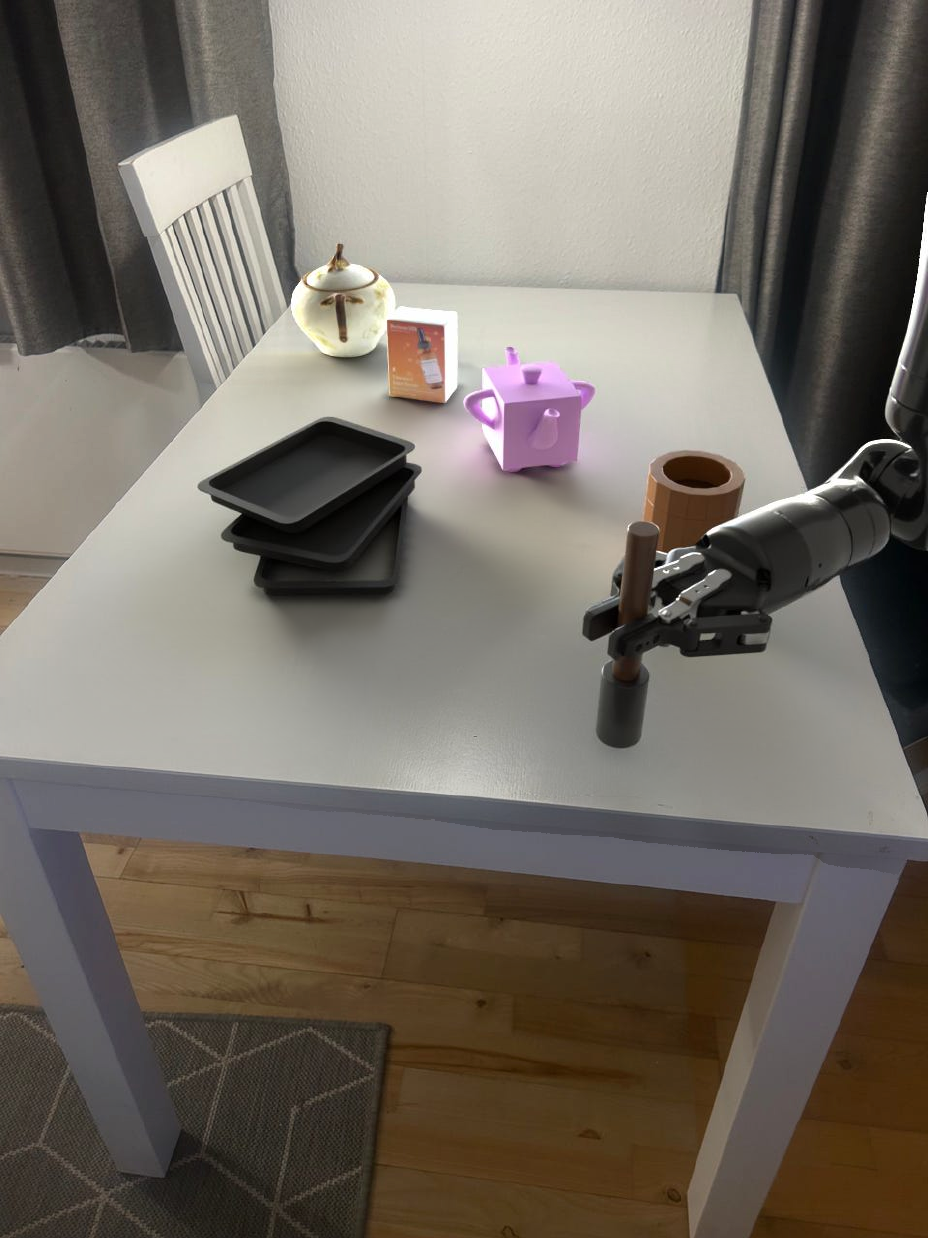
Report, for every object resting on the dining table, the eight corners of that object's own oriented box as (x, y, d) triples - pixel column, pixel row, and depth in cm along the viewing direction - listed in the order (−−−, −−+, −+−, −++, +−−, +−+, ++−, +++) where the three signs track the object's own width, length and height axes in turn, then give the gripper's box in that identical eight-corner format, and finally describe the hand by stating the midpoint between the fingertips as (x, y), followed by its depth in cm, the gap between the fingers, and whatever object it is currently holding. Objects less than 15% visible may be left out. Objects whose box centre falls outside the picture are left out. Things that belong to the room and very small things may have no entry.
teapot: (442, 459, 108) (440, 370, 101) (506, 419, 116) (509, 335, 110) (551, 498, 100) (557, 405, 94) (611, 452, 109) (621, 364, 102)
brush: (630, 713, 71) (657, 511, 60) (648, 744, 68) (679, 538, 57) (589, 721, 70) (608, 518, 59) (605, 752, 67) (629, 546, 56)
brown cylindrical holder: (700, 543, 93) (717, 445, 86) (740, 590, 86) (762, 487, 80) (623, 555, 91) (635, 456, 85) (657, 603, 85) (673, 500, 78)
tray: (449, 595, 86) (448, 548, 83) (197, 622, 83) (186, 575, 80) (410, 450, 110) (408, 410, 106) (212, 467, 107) (204, 426, 103)
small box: (388, 397, 122) (384, 319, 115) (403, 381, 126) (399, 304, 119) (446, 404, 120) (444, 325, 113) (458, 387, 124) (457, 310, 118)
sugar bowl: (399, 371, 129) (393, 261, 120) (292, 375, 128) (278, 265, 119) (395, 322, 144) (390, 221, 135) (300, 325, 143) (288, 225, 134)
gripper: (712, 476, 71) (537, 545, 64) (863, 554, 62) (680, 647, 54) (698, 556, 76) (533, 630, 68) (837, 641, 67) (665, 737, 59)
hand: (599, 637), depth 61 cm, fingers closed on brush, 2 cm apart
